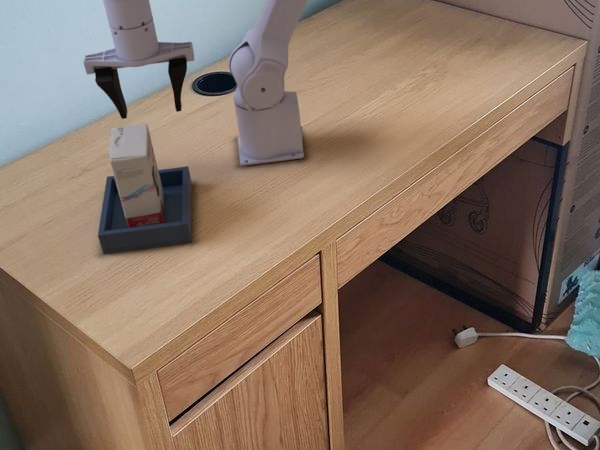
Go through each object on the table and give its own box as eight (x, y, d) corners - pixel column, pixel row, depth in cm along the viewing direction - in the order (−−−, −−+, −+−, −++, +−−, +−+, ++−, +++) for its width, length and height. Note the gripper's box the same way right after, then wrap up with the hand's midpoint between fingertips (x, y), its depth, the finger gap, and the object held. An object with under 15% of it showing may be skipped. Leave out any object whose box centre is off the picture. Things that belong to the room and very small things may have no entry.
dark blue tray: (191, 183, 114) (188, 166, 112) (191, 242, 103) (187, 223, 101) (111, 194, 113) (106, 176, 112) (103, 253, 103) (97, 235, 101)
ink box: (165, 229, 105) (147, 155, 97) (128, 235, 104) (108, 161, 97) (164, 193, 111) (148, 120, 104) (130, 198, 111) (111, 126, 104)
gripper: (186, 1, 106) (202, 91, 114) (78, 15, 106) (102, 104, 114) (186, 22, 101) (203, 115, 109) (72, 37, 100) (98, 129, 108)
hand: (151, 111), depth 111 cm, fingers open, 7 cm apart
